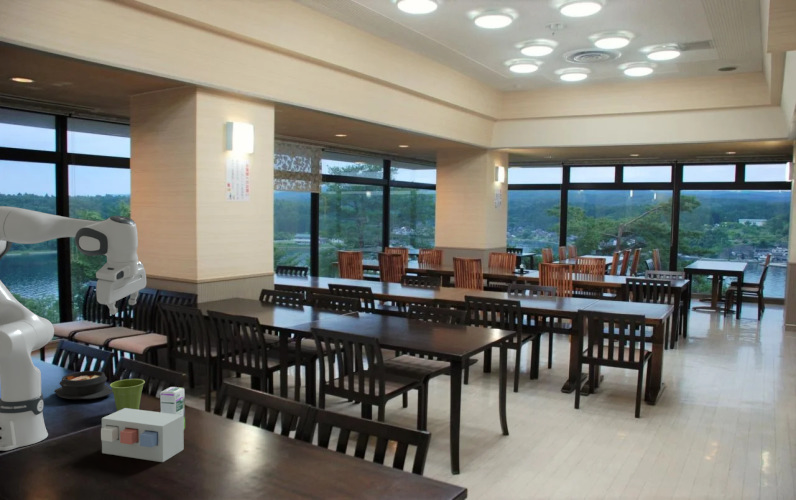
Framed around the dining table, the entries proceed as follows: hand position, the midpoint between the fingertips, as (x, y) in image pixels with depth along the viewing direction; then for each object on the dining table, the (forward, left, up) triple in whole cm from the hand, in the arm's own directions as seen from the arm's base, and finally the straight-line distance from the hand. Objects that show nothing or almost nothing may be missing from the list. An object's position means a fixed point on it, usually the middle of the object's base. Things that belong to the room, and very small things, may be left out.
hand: (123, 308), depth 187 cm
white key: (0, -11, -38) cm, 40 cm away
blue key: (+13, -16, -38) cm, 44 cm away
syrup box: (+13, +9, -44) cm, 46 cm away
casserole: (-34, +49, -44) cm, 74 cm away
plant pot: (-9, +28, -44) cm, 53 cm away
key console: (+9, -8, -44) cm, 45 cm away
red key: (+7, -14, -38) cm, 41 cm away
